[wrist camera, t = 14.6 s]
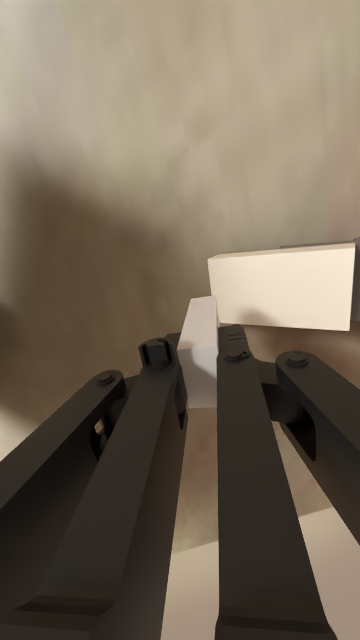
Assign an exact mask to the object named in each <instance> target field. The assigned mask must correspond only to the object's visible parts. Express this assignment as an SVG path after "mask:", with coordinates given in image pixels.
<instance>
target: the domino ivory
mask: <svg viewBox="0 0 360 640" xmlns="http://www.w3.org/2000/svg"><path fill="white" fill-rule="evenodd" d="M354 258H355V243H346V244H334V245H323V246H311V247H299V248H288V249H276V250H264V251H252V252H241V253H229V254H218V255H216V256H213V257H211V258H209V259H207V260H208V269H209V277H210V286H211V295H212V296H213V295H216V301H217V308H218V315H219V322H220V323H231V324H247V325H263V326H278V327H294V328H310V329H325V330H341V331H349V327H350V313H351V299H352V286H353V272H354Z"/></svg>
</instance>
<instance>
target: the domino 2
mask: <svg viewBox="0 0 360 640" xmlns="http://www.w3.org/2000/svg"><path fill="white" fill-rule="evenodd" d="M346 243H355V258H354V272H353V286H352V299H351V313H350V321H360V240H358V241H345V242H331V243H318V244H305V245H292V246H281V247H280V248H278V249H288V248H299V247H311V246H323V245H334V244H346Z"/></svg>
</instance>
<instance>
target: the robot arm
mask: <svg viewBox="0 0 360 640" xmlns="http://www.w3.org/2000/svg"><path fill="white" fill-rule="evenodd" d="M138 348H139V352H140V356H141V360H142V363H143V368H142V370H141V372H140V374H139V375H136V376H133V377H129V378H126V379H124V377H123V374H122V373H121V372H120V371H117V370H111V371H110V370H109V371H106V372H105V371H104V372H102V373H100V374H98V375H96V376H95V377H93V378H92V379H91V380H90V381H89V382H87V383H86V384H85V385H84V386H83V387H82V388H81V389H80V390H79V391H78V392H76V393H75V394H74V395H73V396H72V397H71V398H70V399H69V400H68V401H67V402H65V403H64V404H63V405H62V406H61V407H60V408H59V409H58V410H57V411H56V412H54V413H53V414H52V415H51V416H50V417H49V418H48V419H47V420H46V421H45V422H43V423H42V424H41V425H40V426H39V427H38V428H37V429H36V430H35V431H34V432H32V433H31V434H30V435H29V436H28V437H27V438H26V439H25V440H24V441H23V442H21V443H20V444H19V445H18V446H17V447H16V448H15V449H14V450H13V451H12V452H10V453H9V454H8V455H7V456H6V457H5V458H4V459H3V460H2V461H1V462H0V640H160V638H161V630H162V621H163V614H164V605H165V598H166V590H167V582H168V574H169V566H170V558H171V550H172V542H173V534H174V526H175V518H176V510H177V502H178V494H179V486H180V478H181V470H182V462H183V454H184V446H185V438H186V430H187V421H188V415H187V410H186V402H187V401H188V406H189V409H195V408H209V407H217V447H218V528H219V616H218V619H217V622H216V628H215V640H337V637H336V635H335V633H334V632H333V630H332V628H331V627H330V625H329V624H328V621H327V619H326V616H325V613H324V610H323V607H322V603H321V600H320V596H319V593H318V589H317V585H316V582H315V578H314V575H313V571H312V567H311V564H310V560H309V556H308V553H307V549H306V545H305V542H304V538H303V535H302V531H301V527H300V524H299V520H298V516H297V513H296V509H295V506H294V502H293V498H292V495H291V491H290V487H289V484H288V480H287V477H286V473H285V469H284V466H283V462H282V458H281V455H280V451H279V448H278V444H277V440H276V437H275V433H274V429H273V426H272V422H271V421H276V422H279V423H280V426H281V428H282V430H283V431H284V433H285V434H286V436H287V437H288V439H289V440H290V442H291V443H292V445H293V446H294V448H295V449H296V451H297V452H298V454H299V455H300V457H301V458H302V460H303V461H304V463H305V464H306V466H307V467H308V469H309V470H310V472H311V473H312V475H313V476H314V478H315V479H316V481H317V482H318V484H319V485H320V487H321V488H322V490H323V491H324V493H325V494H326V496H327V497H328V499H329V500H330V502H331V503H332V505H333V506H334V508H335V509H336V511H337V512H338V514H339V515H340V517H341V518H342V520H343V521H344V523H345V524H346V526H347V527H348V529H349V530H350V532H351V533H352V535H353V536H354V538H355V539H356V541H357V542H358V543H359V545H360V390H359V389H358V388H357V387H355V386H354V385H353V384H351V383H350V382H349V381H348V380H346V379H345V378H344V377H342V376H341V375H340V374H338V373H337V372H336V371H334V370H333V369H332V368H330V367H329V366H328V365H326V364H325V363H324V362H323V361H321V360H320V359H319V358H317V357H316V356H314V355H312V354H310V353H306V352H303V351H291V352H285V353H283V354H280V355H279V356H278V357H277V358H276V361H275V363H270V362H263V361H260V360H257V359H255V358H254V357H253V354H252V353H251V352H250V350H249V346H248V343H247V339H246V335H245V331H244V328H242V327H241V326H239V325H233V326H225V327H220V322H219V315H218V308H217V301H216V295H213V296H206V297H199V298H192V299H191V300H190V304H189V307H188V311H187V315H186V318H185V322H184V325H183V329H182V332H181V333H174V334H168V335H167V336H166V337H165V338H155V339H151V340H148V341H146V342H144V343H142V344H141V345H140V346H139V347H138ZM99 420H100V423H101V425H102V430H101V431H100V432H99V433H96V430H95V428H94V426H95V425H96V424H97V422H98V421H99Z"/></svg>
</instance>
